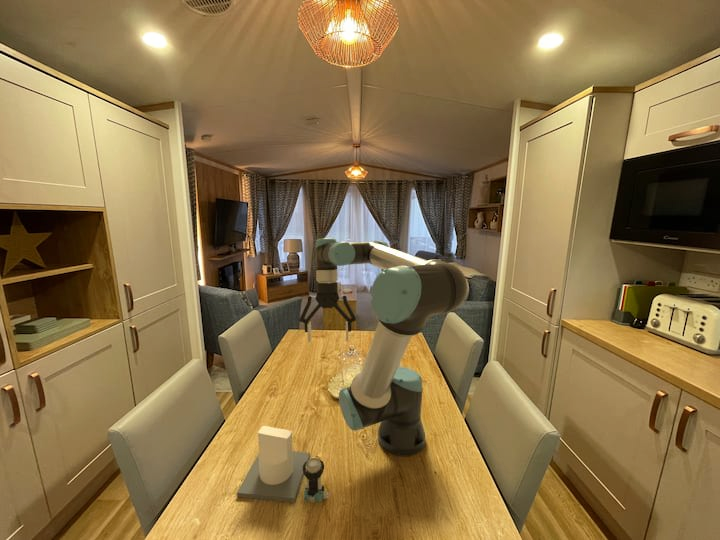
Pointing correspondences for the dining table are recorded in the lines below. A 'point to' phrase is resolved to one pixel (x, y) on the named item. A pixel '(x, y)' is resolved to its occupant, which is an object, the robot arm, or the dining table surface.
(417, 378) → the robot arm
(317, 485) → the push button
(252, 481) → the slate mat
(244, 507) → the dining table surface
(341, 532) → the dining table surface
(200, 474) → the dining table surface
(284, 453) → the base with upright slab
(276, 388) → the dining table surface
